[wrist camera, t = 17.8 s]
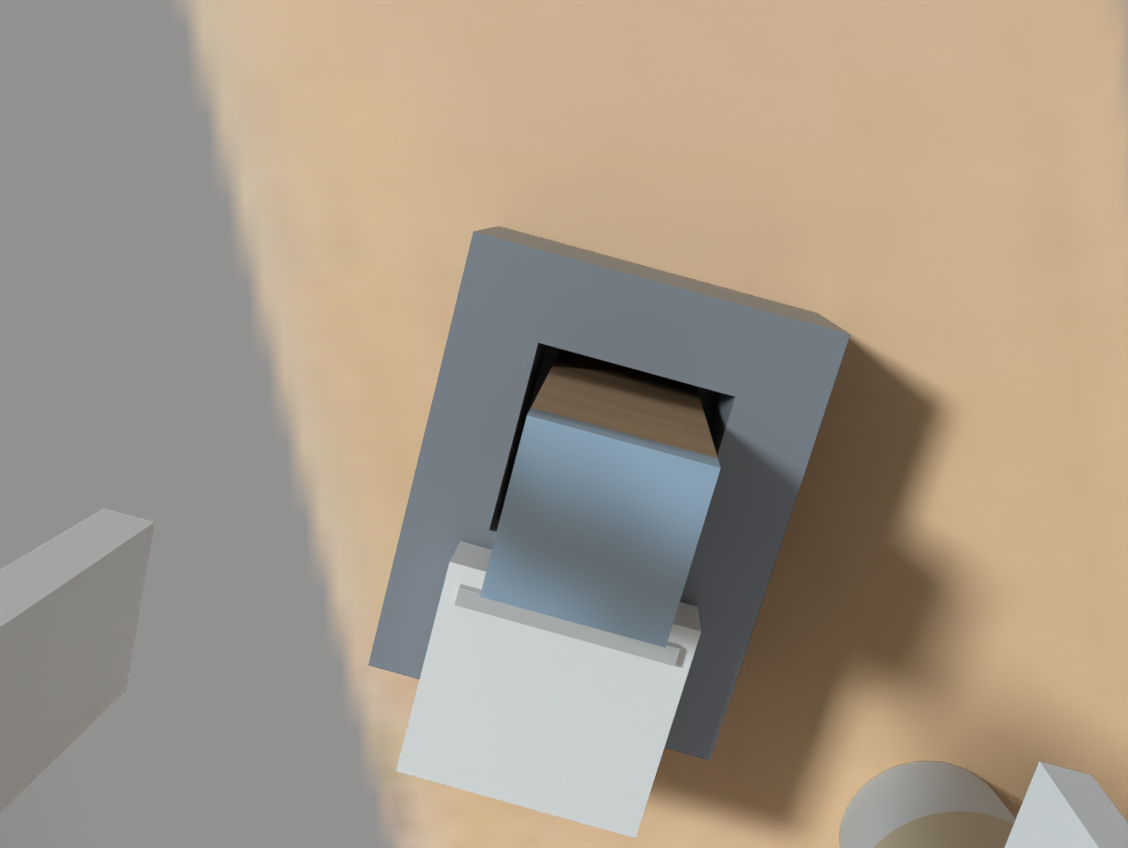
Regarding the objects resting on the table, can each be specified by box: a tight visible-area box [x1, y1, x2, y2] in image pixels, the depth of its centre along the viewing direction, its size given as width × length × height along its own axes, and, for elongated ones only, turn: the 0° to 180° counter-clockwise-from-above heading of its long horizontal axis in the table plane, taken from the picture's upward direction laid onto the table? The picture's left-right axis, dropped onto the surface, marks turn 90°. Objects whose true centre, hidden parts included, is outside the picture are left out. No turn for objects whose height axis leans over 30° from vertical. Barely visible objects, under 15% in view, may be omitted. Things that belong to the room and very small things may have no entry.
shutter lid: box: [396, 541, 701, 838], centre depth 34 cm, size 7×8×2 cm
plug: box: [480, 349, 721, 648], centre depth 33 cm, size 5×5×12 cm
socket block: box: [369, 226, 850, 760], centre depth 37 cm, size 15×12×6 cm
